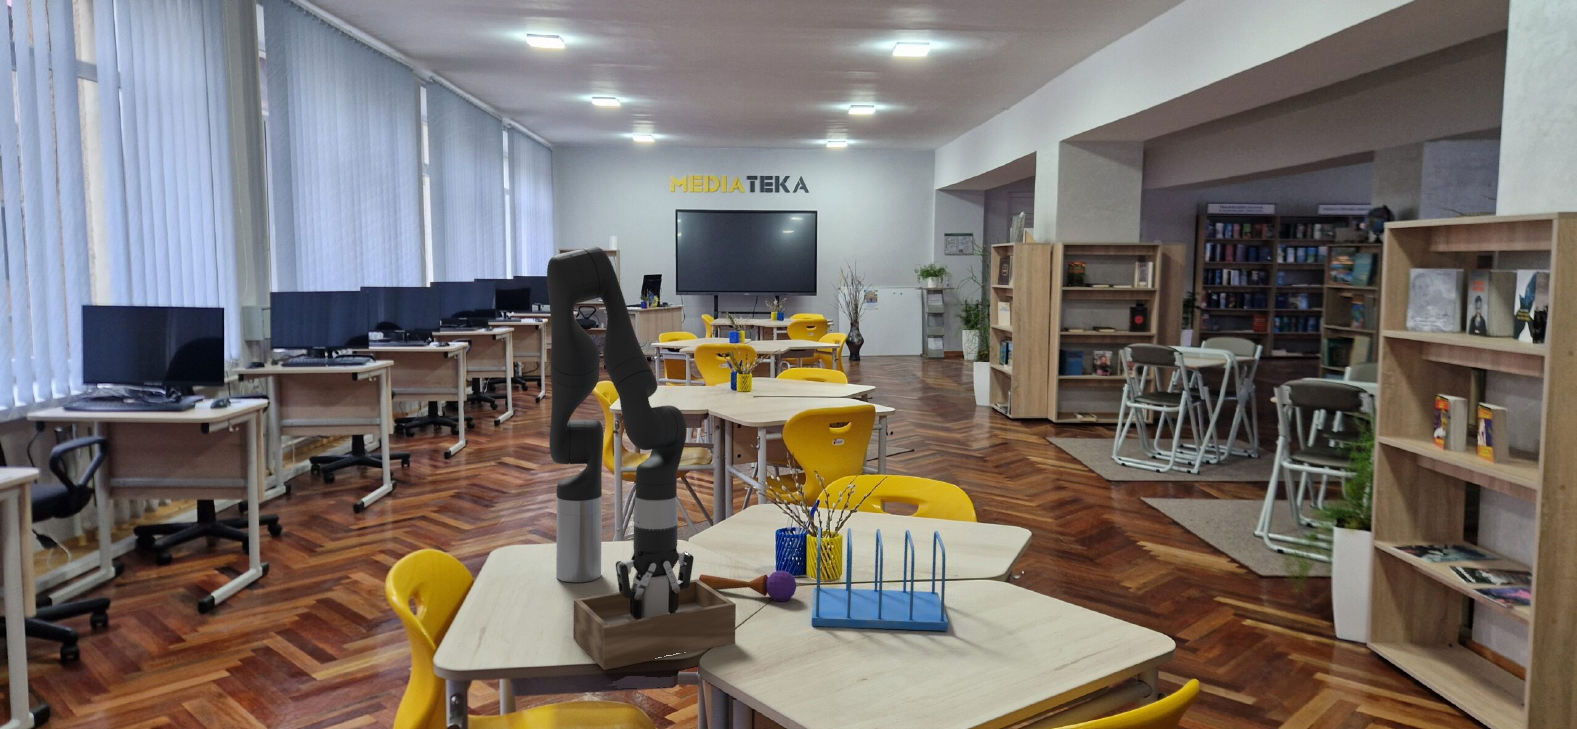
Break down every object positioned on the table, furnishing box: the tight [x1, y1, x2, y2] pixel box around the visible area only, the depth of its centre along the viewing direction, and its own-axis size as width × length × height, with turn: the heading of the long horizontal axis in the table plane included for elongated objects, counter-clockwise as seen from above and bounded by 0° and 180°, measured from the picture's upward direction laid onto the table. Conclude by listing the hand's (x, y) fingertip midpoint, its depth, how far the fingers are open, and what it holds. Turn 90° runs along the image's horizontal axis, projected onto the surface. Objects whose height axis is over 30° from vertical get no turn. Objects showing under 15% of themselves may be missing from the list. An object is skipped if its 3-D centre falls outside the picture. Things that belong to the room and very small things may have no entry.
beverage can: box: [641, 575, 669, 619], centre depth 163 cm, size 5×5×12 cm
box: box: [572, 578, 737, 671], centre depth 163 cm, size 15×24×7 cm, turn 122°
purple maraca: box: [698, 570, 797, 602], centre depth 188 cm, size 6×6×20 cm
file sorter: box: [811, 526, 949, 632], centre depth 179 cm, size 25×17×15 cm
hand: (654, 615), depth 163 cm, fingers open, 6 cm apart
